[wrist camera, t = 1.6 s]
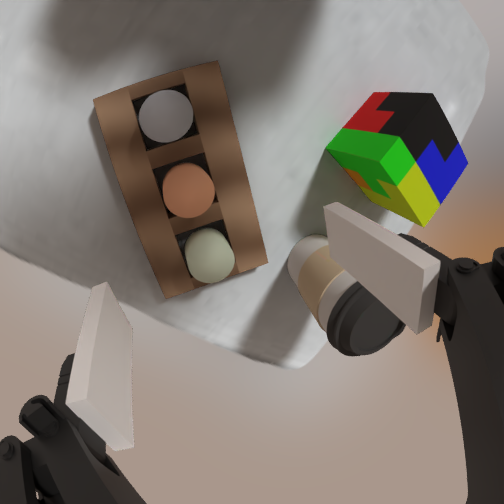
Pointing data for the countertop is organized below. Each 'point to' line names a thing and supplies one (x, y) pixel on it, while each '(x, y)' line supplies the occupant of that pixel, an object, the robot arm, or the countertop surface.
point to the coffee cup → (340, 300)
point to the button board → (144, 161)
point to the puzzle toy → (401, 153)
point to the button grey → (166, 116)
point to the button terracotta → (188, 190)
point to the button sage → (209, 255)
